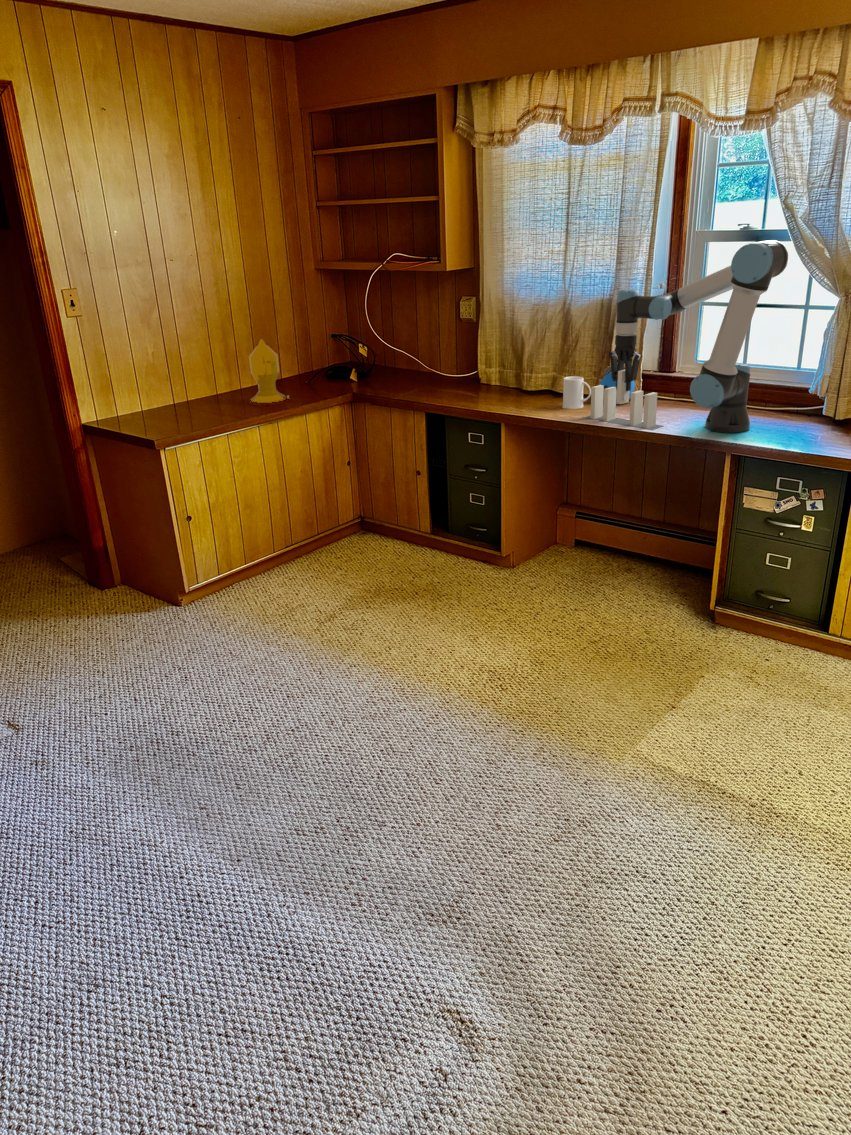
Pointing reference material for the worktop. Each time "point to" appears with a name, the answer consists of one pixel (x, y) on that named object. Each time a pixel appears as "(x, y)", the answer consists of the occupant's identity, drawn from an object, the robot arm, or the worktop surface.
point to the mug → (574, 392)
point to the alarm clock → (613, 382)
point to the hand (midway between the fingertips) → (622, 398)
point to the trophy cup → (265, 374)
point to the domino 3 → (621, 387)
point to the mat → (624, 422)
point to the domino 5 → (650, 410)
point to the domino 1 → (597, 401)
